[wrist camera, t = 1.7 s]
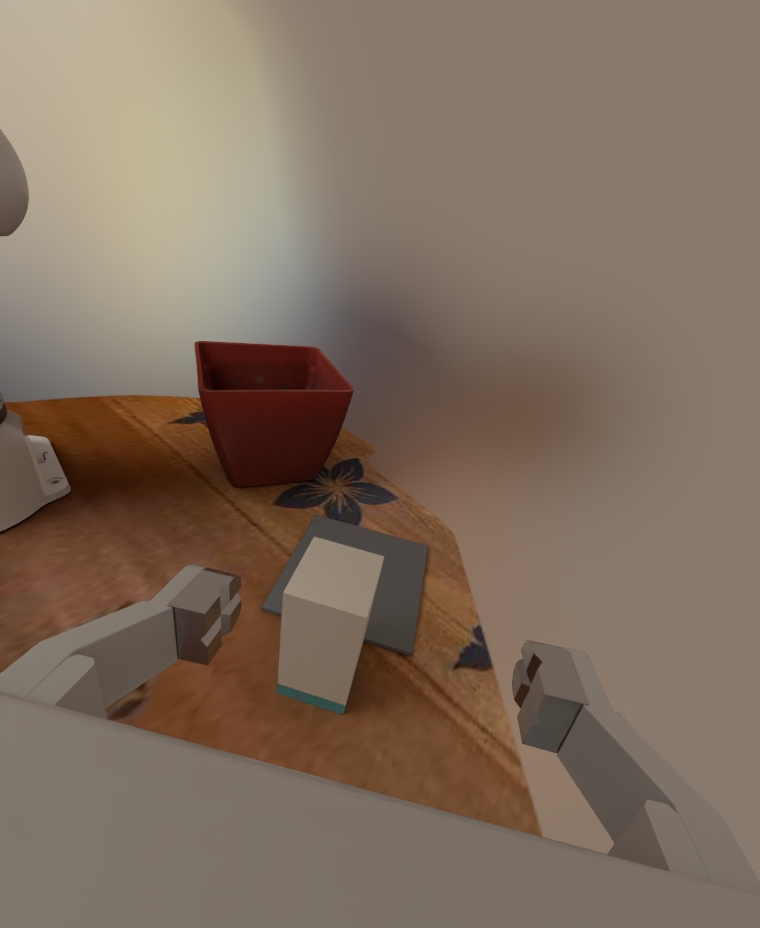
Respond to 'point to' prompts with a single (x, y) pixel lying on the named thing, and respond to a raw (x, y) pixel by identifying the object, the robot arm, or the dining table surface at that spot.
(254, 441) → the plant pot
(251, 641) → the dining table surface
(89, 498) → the dining table surface
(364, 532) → the mat
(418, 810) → the robot arm
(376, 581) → the cream block
